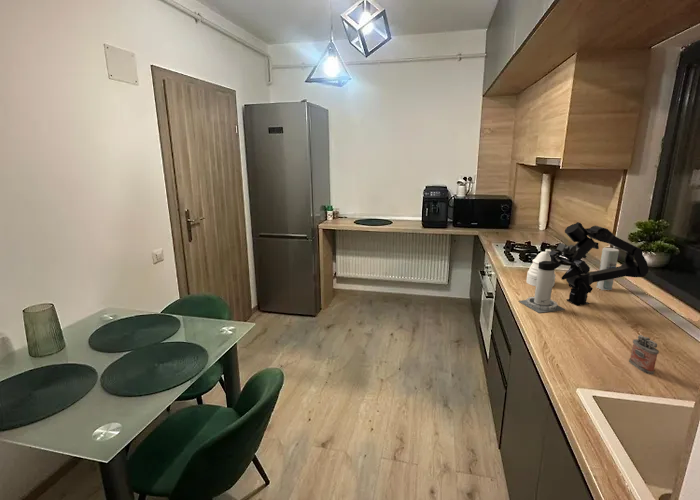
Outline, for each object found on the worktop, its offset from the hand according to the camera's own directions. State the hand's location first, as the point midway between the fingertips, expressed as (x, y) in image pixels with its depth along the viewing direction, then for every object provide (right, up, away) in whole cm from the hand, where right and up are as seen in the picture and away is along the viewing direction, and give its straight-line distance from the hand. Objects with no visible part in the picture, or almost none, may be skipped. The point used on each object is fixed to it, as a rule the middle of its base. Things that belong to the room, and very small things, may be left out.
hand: (554, 275), depth 163 cm
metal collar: (-4, -13, +3) cm, 14 cm away
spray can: (+36, -8, +22) cm, 43 cm away
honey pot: (+9, -6, +31) cm, 33 cm away
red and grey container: (+3, -26, -44) cm, 51 cm away
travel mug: (-4, -13, +2) cm, 14 cm away
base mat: (-4, -13, +3) cm, 14 cm away
